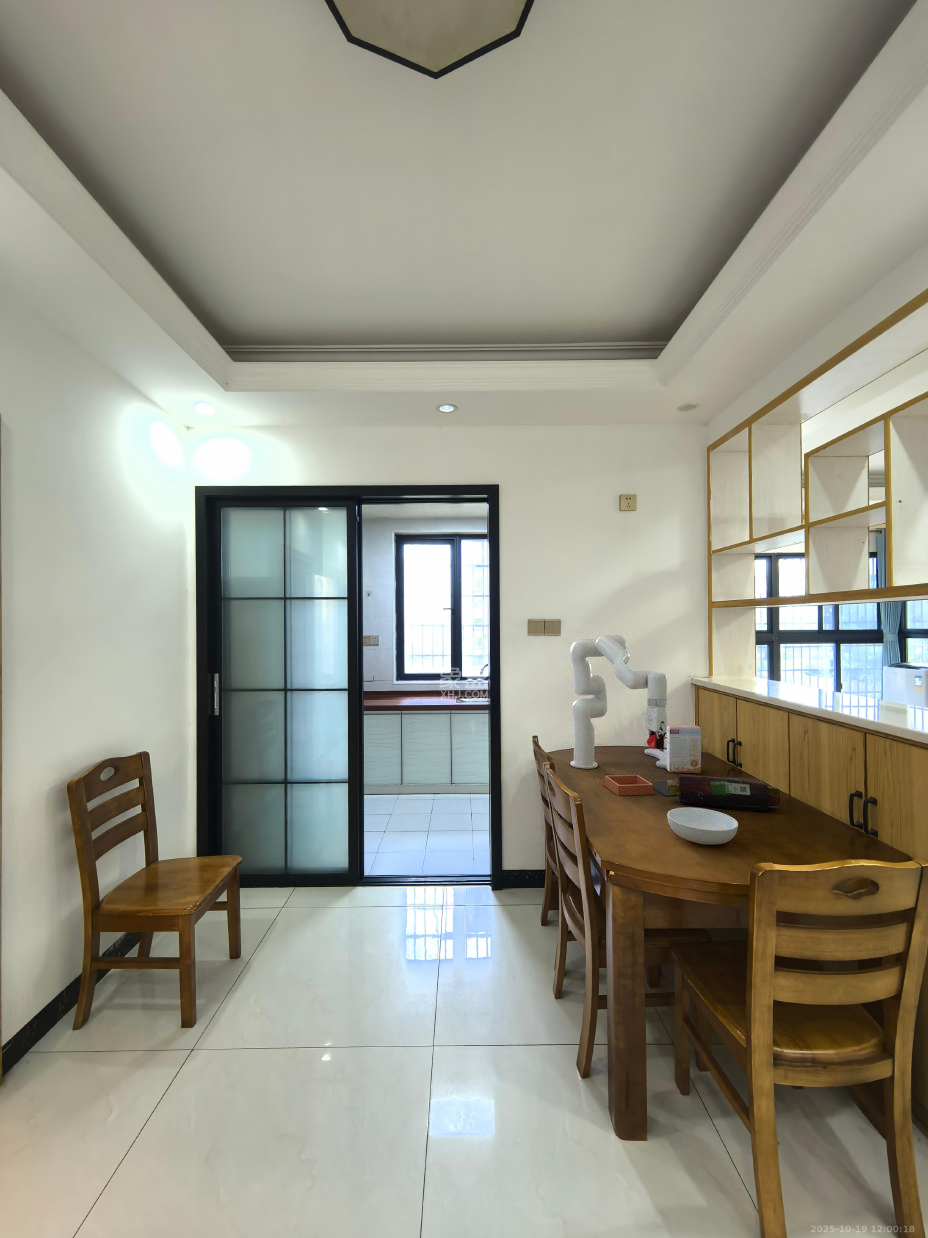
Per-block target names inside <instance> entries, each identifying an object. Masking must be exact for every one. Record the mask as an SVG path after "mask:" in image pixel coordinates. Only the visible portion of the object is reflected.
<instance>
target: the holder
mask: <svg viewBox="0 0 928 1238" xmlns="http://www.w3.org/2000/svg"><path fill="white" fill-rule="evenodd" d="M644 754H645V755H646V756H649V757H653V758H656V759H658V760H657V761H656V763H655V765H656V767H658V768H661V769H663V770H667V748H666V749H665V748H664V749H663V751H662V749H652V748H646V749H644Z"/></svg>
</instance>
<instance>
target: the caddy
mask: <svg viewBox="0 0 928 1238" xmlns="http://www.w3.org/2000/svg"><path fill="white" fill-rule="evenodd" d="M650 782H651V781H649V780H646V779H645V778H644V777H641V776H640V775H639V774H621V775H620V774H619V775H604V782H603V783H604V786H605V787H606V788H608V790H610V791H612V792H613V793H614V794H616V795H617V796H619V797H621V796H646V795H649V796H650V795H654V789H653V784H651V783H650Z"/></svg>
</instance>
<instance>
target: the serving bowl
mask: <svg viewBox="0 0 928 1238" xmlns="http://www.w3.org/2000/svg"><path fill="white" fill-rule="evenodd" d="M666 816H667V822H668V825H669V827H670V829H671V830H672V831H673V832H674V833H675V834H676V835H677V836H678V837H680V838H682V839H684V840H687V841H689V842H692V843H695V844H699V845H706V846H707V845H722V844H725V843H728V842H730V841H731V840H732V839H734V837H735V836H736V835H737V832H738V828H739V822H738V820H737V819H735V818H734V817H732V816H731V815H728V814H726V813H724V812H720V811H717V810H713V809H708V808H703V807H686V806H685V807H677V808H673V809H670V810H668V811H667V814H666Z"/></svg>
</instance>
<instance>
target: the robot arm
mask: <svg viewBox="0 0 928 1238" xmlns="http://www.w3.org/2000/svg"><path fill="white" fill-rule="evenodd" d="M627 647H628V644H627V640H626V639H625V638H624V637H623V636H622V635H620V634H603V635H601V636H599V637H598V638H582V639H581V638H580V639H578V640H576V641H574V642H573V644H572V645H571V647H570V660H571V663H572V664H571V665H572V674H573V689H574V692H575V694H576V695H578V696H583V697H584V696H590V697H586V698H585V697H584V698H579V699H576V700H575V701H574V702H573V703H572V707H571V712H572V718H573V719H572V720H573V760H572V761H570V763H569V765H570V766H571V767H573V768H576V769H583V770H584V769H586V770H587V769H590V770H591V769H596V768H597V767H598V762H596V761H595V725H594V722H593V721H592V719H597V718H598V719H599V718H603V717H604V716H606V714H607V712H608V695H607V694H608V692H607V684H606V682H605V679H604V678H603V676H601V675H599V674H592V665H591V663H590V661H589V660H588V658H598V657H604V658H606V659H607V660H608V661H609V662H610V663H611V664H612V665H613V671H614V674H615V677H616V678H617V679H618V680H619V682H620V683H622V685H624V686H625V687H626V688H628V689H630V690H644V689H647V702H646V703H647V707H646V714H645V728H646V729H647V730H648V738H649V737H650V736H652V735H655V734H657V739H656V749H658V750H665V740H666V739H665V737H666V736H667V725H668V719H667V707H668V675H667V674H666V673H664V672H655V671H652V670H632V669H631V668H630V667H629V666H627V664H628V663H629V661H630V658H631V654H630V652H629V651H628V650H627ZM659 734H660V735H659Z"/></svg>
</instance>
